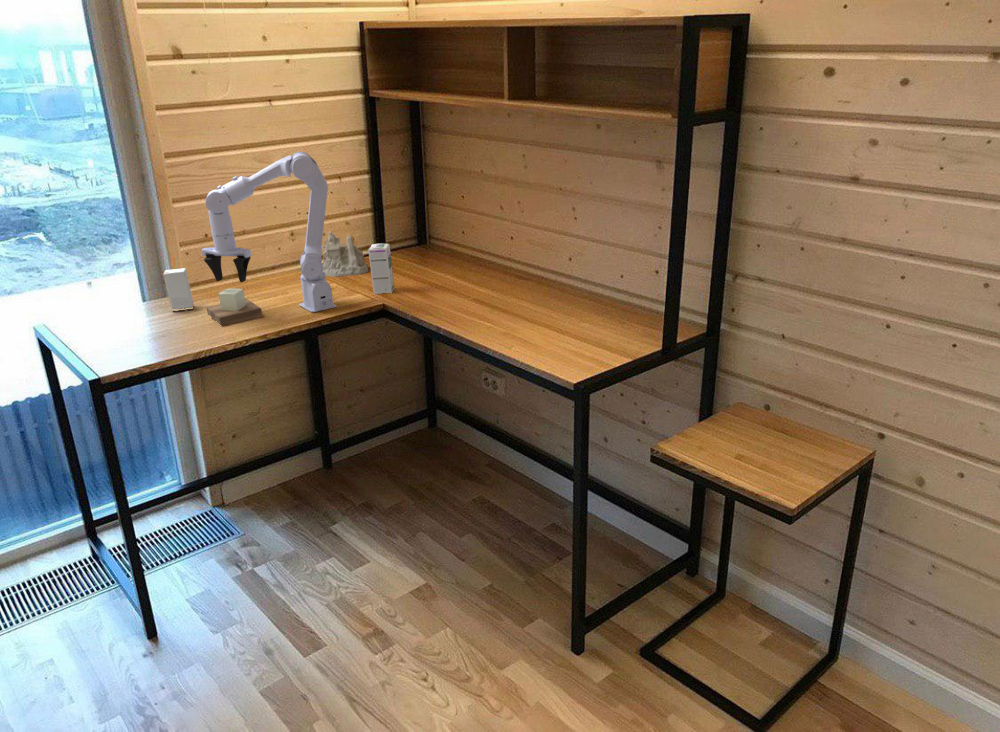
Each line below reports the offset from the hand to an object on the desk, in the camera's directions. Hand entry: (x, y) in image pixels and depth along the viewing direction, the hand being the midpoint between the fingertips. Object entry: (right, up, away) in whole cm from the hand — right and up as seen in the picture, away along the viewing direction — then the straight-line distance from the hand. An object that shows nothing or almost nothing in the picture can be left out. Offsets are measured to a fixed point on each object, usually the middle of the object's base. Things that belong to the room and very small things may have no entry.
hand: (231, 280), depth 228 cm
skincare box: (-18, -8, +11) cm, 23 cm away
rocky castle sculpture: (+24, +8, +44) cm, 51 cm away
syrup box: (+41, -1, +20) cm, 45 cm away
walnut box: (0, -10, +4) cm, 11 cm away
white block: (0, -8, +2) cm, 8 cm away
